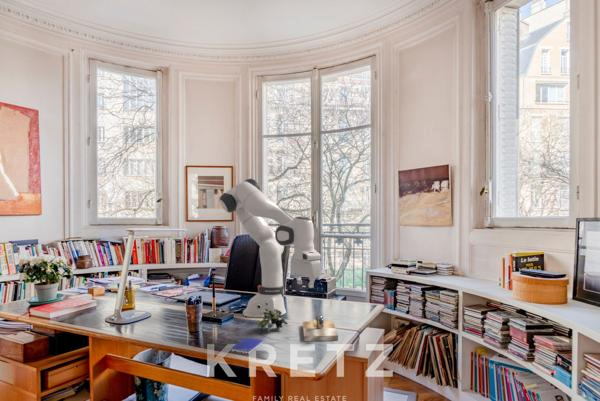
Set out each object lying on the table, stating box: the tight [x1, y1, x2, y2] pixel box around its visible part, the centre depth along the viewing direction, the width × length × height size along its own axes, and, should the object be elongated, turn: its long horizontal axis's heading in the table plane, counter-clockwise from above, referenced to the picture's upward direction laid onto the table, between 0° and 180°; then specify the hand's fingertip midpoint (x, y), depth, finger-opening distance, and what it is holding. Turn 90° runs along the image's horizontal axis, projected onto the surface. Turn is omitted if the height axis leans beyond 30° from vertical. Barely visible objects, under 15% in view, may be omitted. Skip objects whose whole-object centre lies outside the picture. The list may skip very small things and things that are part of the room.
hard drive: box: [229, 337, 264, 354], centre depth 150 cm, size 2×8×12 cm
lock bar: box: [315, 314, 324, 328], centre depth 161 cm, size 13×3×3 cm, turn 2°
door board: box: [302, 319, 339, 342], centre depth 166 cm, size 14×21×6 cm, turn 2°
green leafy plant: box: [255, 309, 289, 334], centre depth 169 cm, size 11×11×12 cm
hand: (305, 285), depth 163 cm, fingers open, 8 cm apart
